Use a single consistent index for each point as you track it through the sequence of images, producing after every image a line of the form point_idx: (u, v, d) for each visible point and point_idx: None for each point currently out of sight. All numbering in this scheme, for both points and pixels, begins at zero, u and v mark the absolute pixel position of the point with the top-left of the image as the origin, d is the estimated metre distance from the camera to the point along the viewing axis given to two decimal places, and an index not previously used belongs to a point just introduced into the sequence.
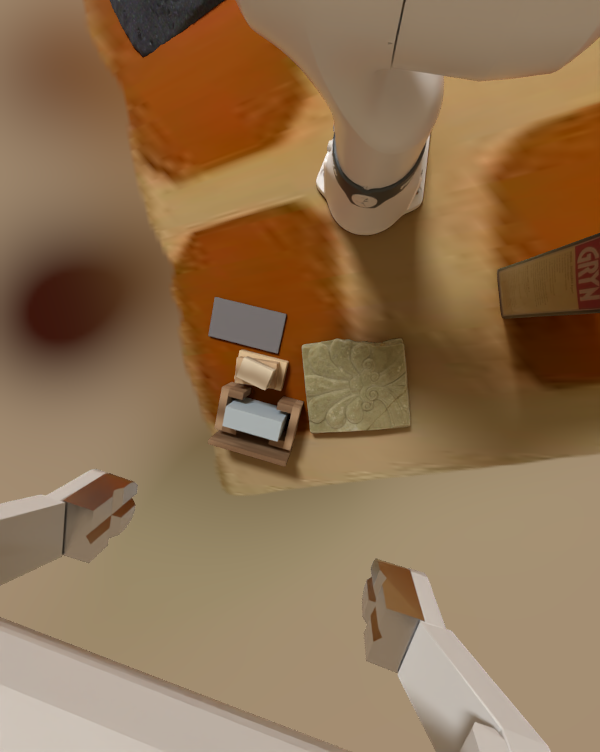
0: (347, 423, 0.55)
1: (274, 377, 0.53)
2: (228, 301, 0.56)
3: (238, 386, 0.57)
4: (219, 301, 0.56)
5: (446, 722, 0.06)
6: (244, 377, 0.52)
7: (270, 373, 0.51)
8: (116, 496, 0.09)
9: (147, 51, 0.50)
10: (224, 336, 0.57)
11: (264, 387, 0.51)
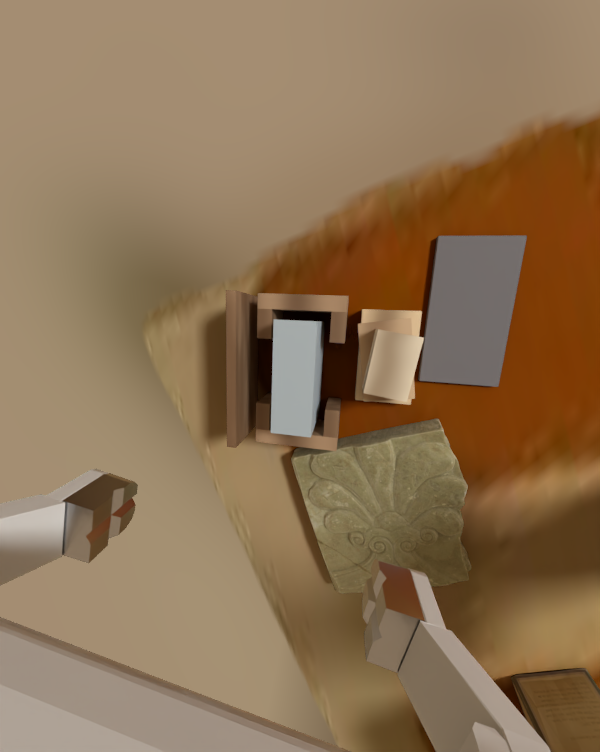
0: (320, 511, 0.34)
1: (386, 398, 0.28)
2: (517, 267, 0.27)
3: None
4: (517, 247, 0.27)
5: (446, 722, 0.06)
6: (381, 347, 0.25)
7: (401, 397, 0.26)
8: (116, 496, 0.09)
9: None
10: (440, 271, 0.29)
11: (369, 391, 0.26)
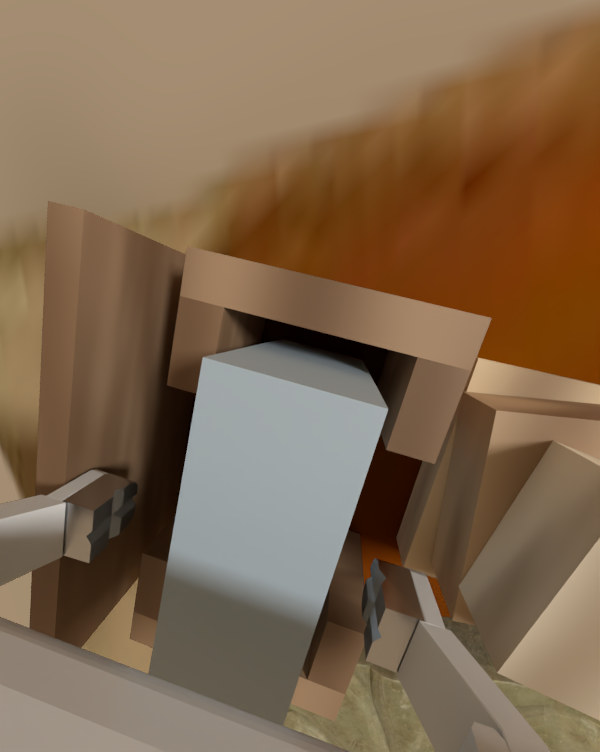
0: None
1: None
2: None
3: None
4: None
5: (445, 722, 0.06)
6: None
7: None
8: (116, 496, 0.09)
9: None
10: None
11: (521, 674, 0.07)
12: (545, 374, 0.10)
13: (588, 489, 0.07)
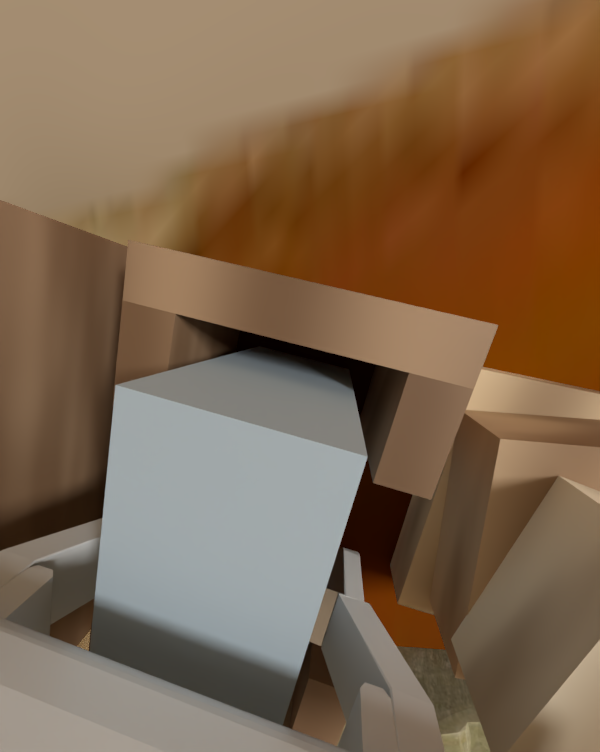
0: None
1: None
2: None
3: None
4: None
5: (353, 688, 0.06)
6: None
7: None
8: None
9: None
10: None
11: None
12: (555, 386, 0.09)
13: None
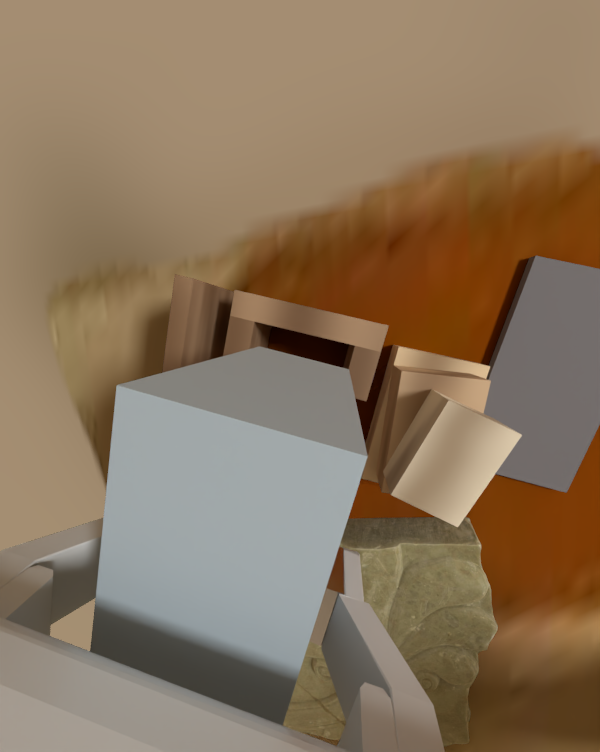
0: None
1: None
2: None
3: None
4: None
5: (352, 688, 0.06)
6: (445, 431, 0.14)
7: (450, 518, 0.15)
8: None
9: None
10: (525, 310, 0.18)
11: (402, 494, 0.15)
12: (435, 355, 0.18)
13: (436, 406, 0.15)
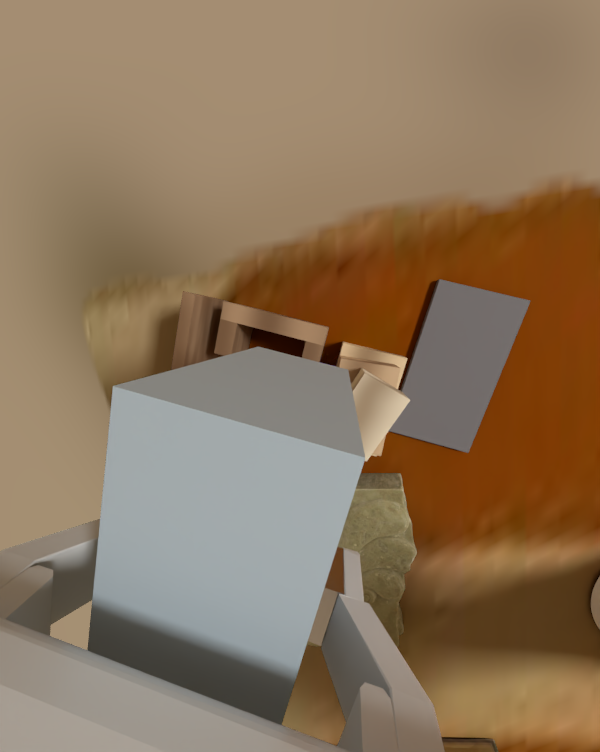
0: None
1: None
2: (514, 332, 0.25)
3: None
4: (518, 310, 0.25)
5: (352, 688, 0.06)
6: (361, 393, 0.21)
7: None
8: None
9: None
10: (433, 318, 0.26)
11: None
12: (368, 349, 0.26)
13: (359, 377, 0.22)
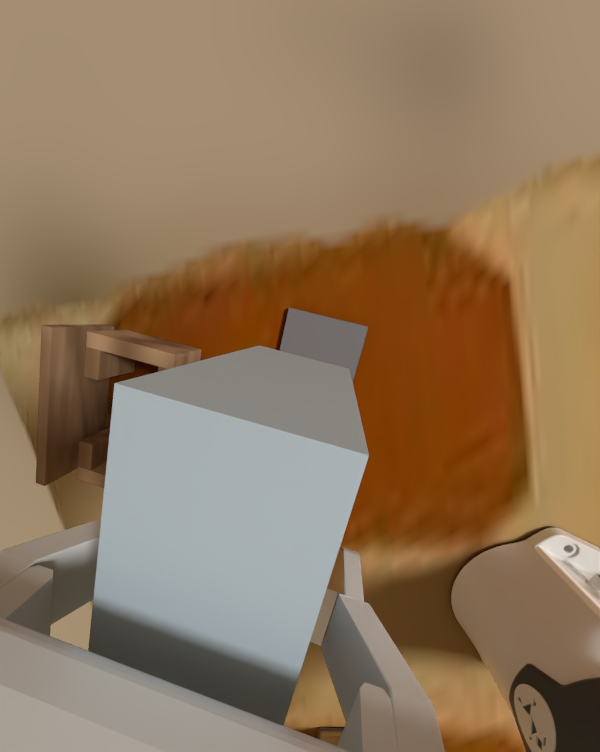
0: None
1: None
2: (357, 355, 0.28)
3: None
4: (358, 336, 0.27)
5: (352, 688, 0.06)
6: None
7: None
8: None
9: None
10: (287, 342, 0.28)
11: None
12: None
13: None
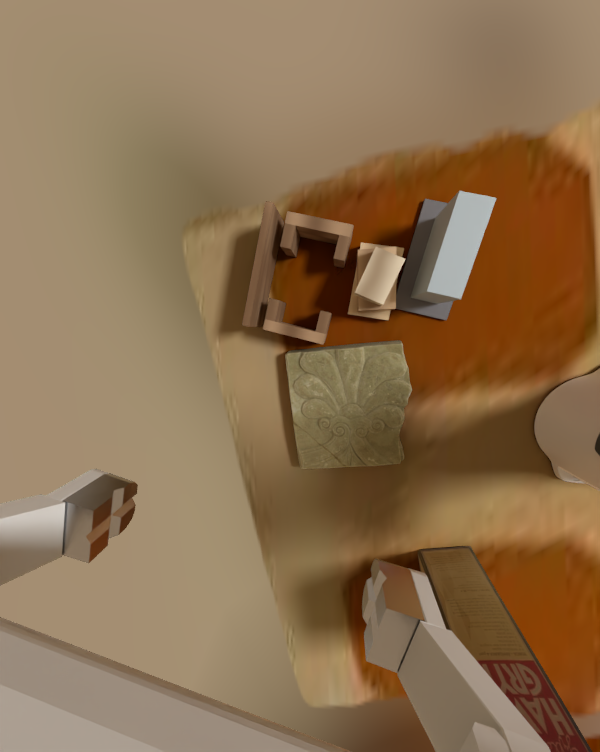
0: (300, 399, 0.44)
1: (375, 308, 0.38)
2: None
3: None
4: None
5: (446, 722, 0.06)
6: (375, 260, 0.35)
7: (380, 300, 0.36)
8: (116, 496, 0.09)
9: None
10: (421, 225, 0.39)
11: (359, 291, 0.36)
12: (378, 245, 0.39)
13: None
